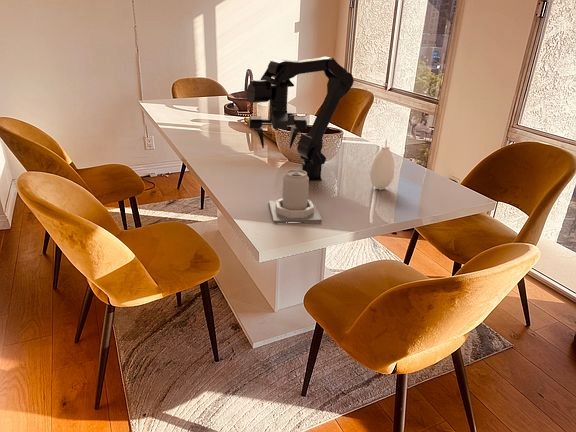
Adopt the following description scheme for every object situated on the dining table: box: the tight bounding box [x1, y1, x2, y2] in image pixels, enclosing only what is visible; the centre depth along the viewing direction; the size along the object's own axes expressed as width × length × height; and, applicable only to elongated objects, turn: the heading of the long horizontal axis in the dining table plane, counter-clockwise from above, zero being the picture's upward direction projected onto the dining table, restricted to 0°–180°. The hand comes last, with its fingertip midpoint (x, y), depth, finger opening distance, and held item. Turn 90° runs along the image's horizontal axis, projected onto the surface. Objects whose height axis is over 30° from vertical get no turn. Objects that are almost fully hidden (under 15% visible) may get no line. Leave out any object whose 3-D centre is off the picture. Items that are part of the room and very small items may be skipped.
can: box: [281, 168, 310, 210], centre depth 132 cm, size 8×8×12 cm
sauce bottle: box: [369, 138, 395, 190], centre depth 152 cm, size 8×8×18 cm
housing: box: [268, 197, 322, 224], centre depth 135 cm, size 14×14×3 cm
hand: (276, 147), depth 150 cm, fingers open, 9 cm apart
